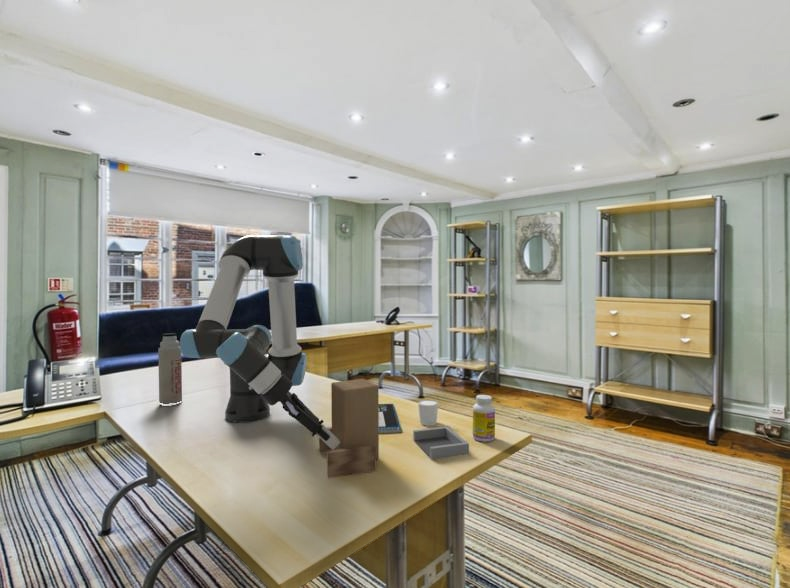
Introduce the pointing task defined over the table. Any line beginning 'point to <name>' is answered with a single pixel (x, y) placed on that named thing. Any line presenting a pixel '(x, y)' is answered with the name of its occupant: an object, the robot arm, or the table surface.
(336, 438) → the robot arm
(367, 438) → the wooden block
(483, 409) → the supplement bottle
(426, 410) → the white cup
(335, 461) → the parallel wooden walls
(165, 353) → the thermos bottle
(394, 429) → the sketchbook
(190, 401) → the table surface
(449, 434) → the grey shallow rectangular tray
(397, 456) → the table surface
